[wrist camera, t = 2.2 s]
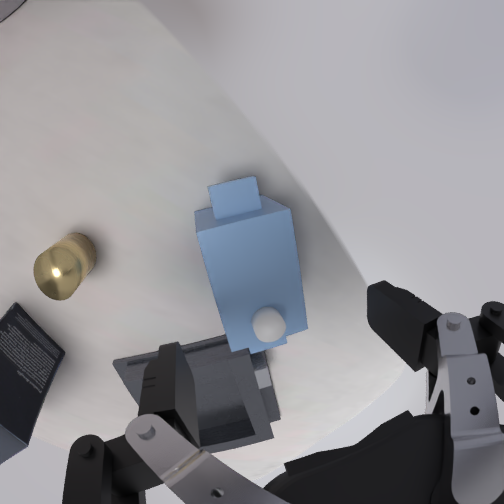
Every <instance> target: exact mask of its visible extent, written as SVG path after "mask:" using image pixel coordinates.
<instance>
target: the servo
mask: <svg viewBox="0 0 504 504" xmlns="http://www.w3.org/2000/svg"><path fill="white" fill-rule="evenodd" d="M207 187H208V191H209V195H210V199H211V204H212V207H211V208H207V209H203V210H199V211H195V212H194V213H195V224H196V233H197V237H198V241H199V244H200V248H201V252H202V255H203V259H204V262H205V266H206V270H207V273H208V277H209V280H210V283H211V287H212V290H213V294H214V297H215V300H216V304H217V307H218V310H219V314H220V317H221V320H222V323H223V326H224V330H225V333H226V336H227V339H228V342H229V345H230V348H231V352H234V351H238V350H241V349H245V348H249V350H250V353H251V354H253V353H257V352H260V351H263V350H267V349H270V348H273V347H276V346H280V345H283V344H286V343H287V340H286V336H288V335H291V334H294V333H297V332H300V331H303V330H306V329H308V326H307V318H306V310H305V302H304V295H303V287H302V280H301V273H300V266H299V260H298V253H297V246H296V240H295V234H294V228H293V222H292V216H291V210H290V208H288V207H286V206H284V205H282V204H280V203H278V202H276V201H274V200H272V199H270V198H268V197H266V196H264V195H260V196H259V192H258V187H257V182H256V177H255V176H249V177H245V178H240V179H236V180H232V181H228V182H223V183H219V184H215V185H211V186H207Z"/></svg>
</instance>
